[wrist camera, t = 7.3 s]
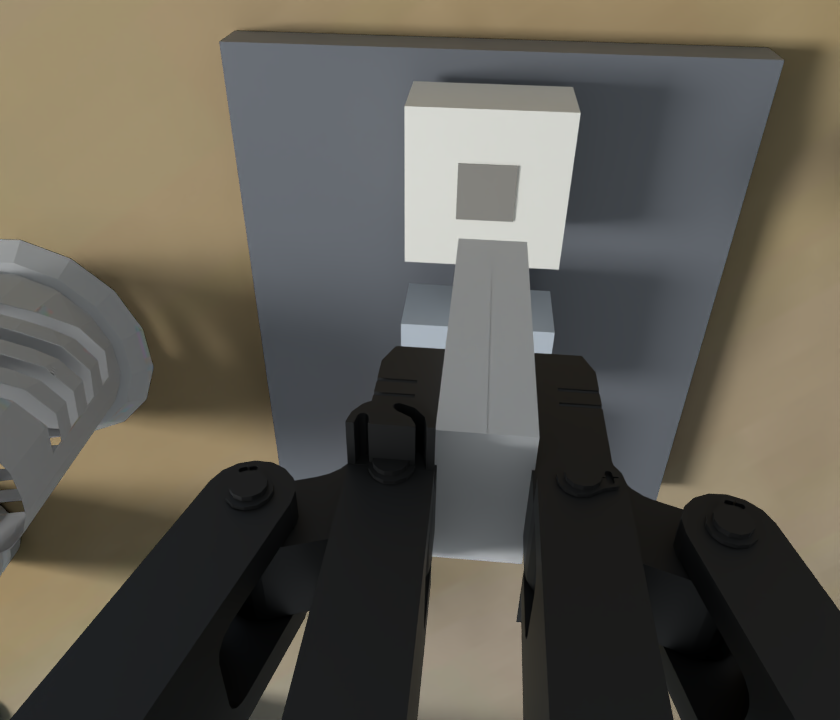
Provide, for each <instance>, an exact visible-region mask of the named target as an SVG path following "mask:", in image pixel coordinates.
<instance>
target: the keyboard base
mask: <svg viewBox="0 0 840 720" xmlns="http://www.w3.org/2000/svg"><path fill="white" fill-rule="evenodd" d="M219 43H220V50H221V57H222V64H223V71H224V78H225V85H226V92H227V99H228V106H229V113H230V120H231V127H232V134H233V142H234V149H235V156H236V163H237V170H238V177H239V184H240V191H241V198H242V205H243V212H244V219H245V226H246V233H247V240H248V247H249V254H250V261H251V268H252V275H253V282H254V289H255V296H256V303H257V310H258V317H259V324H260V331H261V338H262V345H263V353H264V360H265V367H266V374H267V381H268V388H269V395H270V402H271V409H272V416H273V423H274V430H275V437H276V444H277V451H278V458H279V465H280V466H281V467H283V468H285V469H286V470H287V471H288V472H289V473H290V475H291V476H292V477H293V478H294V480H300V479H306V478H312V477H318V476H322V475H326V474H329V473H332V472H334V471H336V470H338V469H340V468H342V467H343V466H345V465H346V464H348V462H347V445H346V427H345V421H346V420H347V418H348V416H349V415H350V413H351V411H353V410H354V409H356V408H357V407H359V406H360V405H361V404H363V403H365V402H369V401H372V397H373V395H374V389H375V385H376V381H377V377H378V373H379V369H380V365H381V361H382V359H383V358H384V357H385V356H386V355H387V354H388V353H389V352H390V351H391V350H392V349H393V348H394V347H395V346H401V321H402V316H403V311H404V306H405V301H406V297H407V292H408V287H409V283H410V284H428V285H446V286H453V281H454V273H455V264H442V263H423V262H405V129H404V106H405V103H406V101H407V98H408V95H409V92H410V89H411V87H412V84H413V81H422V82H450V83H478V84H506V85H534V86H561V87H573V89H574V92H575V96H576V99H577V102H578V106H579V109H580V112H581V114H580V122H579V129H578V136H577V143H576V150H575V157H574V164H573V171H572V179H571V186H570V193H569V200H568V207H567V214H566V221H565V229H564V236H563V243H562V250H561V257H560V264H559V270H556V269H537V268H529V278H530V290H538V291H550V295H551V304H552V313H553V321H554V330H555V335H554V342H553V348H552V354H560V355H575V356H582V357H583V358H584V359H585V360H586V361H587V363H588V364H589V365H590V366H591V367H592V369H593V370H594V371H595V372H596V376H597V381H598V387H599V394H600V398H601V403H602V409H603V414H604V420H605V425H606V431H607V436H608V441H609V447H610V452H611V458H612V463H613V465H614V466H615V467H616V468H617V469H618V470H619V471H620V472H621V473H622V475H623V477H624V479H625V481H626V483H627V485H628V486H629V487H630V488H631V489H633V490H635V491H636V492H638V493H640V494H641V495H643V496H645V497H648V498H650V499H653V500H655V501H656V499H657V496H658V492H659V489H660V485H661V482H662V478H663V475H664V472H665V468H666V465H667V461H668V458H669V454H670V451H671V448H672V444H673V441H674V437H675V434H676V430H677V427H678V424H679V420H680V417H681V413H682V410H683V406H684V403H685V400H686V396H687V393H688V389H689V386H690V382H691V379H692V376H693V372H694V369H695V365H696V362H697V358H698V355H699V352H700V348H701V345H702V341H703V338H704V334H705V331H706V327H707V324H708V321H709V317H710V314H711V310H712V307H713V303H714V300H715V297H716V293H717V290H718V286H719V283H720V279H721V276H722V273H723V269H724V266H725V262H726V259H727V255H728V252H729V249H730V245H731V242H732V238H733V235H734V231H735V228H736V225H737V221H738V218H739V214H740V211H741V207H742V204H743V201H744V197H745V194H746V190H747V187H748V183H749V180H750V177H751V173H752V170H753V166H754V163H755V159H756V156H757V153H758V149H759V146H760V142H761V139H762V135H763V132H764V129H765V125H766V122H767V118H768V115H769V111H770V108H771V105H772V101H773V98H774V94H775V91H776V87H777V84H778V81H779V77H780V74H781V70H782V67H783V63H784V59H782V58H781V57H780V56H778V55H777V54H776V53H775V52H773V51H772V50H771V49H769V48H766V47H734V46H703V45H671V44H640V43H608V42H576V41H545V40H513V39H482V38H450V37H418V36H387V35H355V34H324V33H292V32H260V31H233V32H232V33H231V34H229V35H228V36H226V37H225V38H224V39H222V40H221V41H219Z"/></svg>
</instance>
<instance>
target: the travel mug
mask: <svg viewBox="0 0 840 720" xmlns="http://www.w3.org/2000/svg"><path fill="white" fill-rule="evenodd" d="M5 513H8V512H7V511H6V510H5V509H4V508H3V507H2V506H1V505H0V514H5ZM20 542H21V539H20V538H19V540H18V541H17V542H16V543H15V544H14V546H13V547H12V548H11V549H9V550H6V551H4V552H2V553H0V576H1V574H2V572H3V571H4V570H5V568H6V567H7V566H8V564H9V563H10V561H11V560H12V558H13V557H14V555H15V554H16V552H17V551H18V549H19V547H20Z"/></svg>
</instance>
